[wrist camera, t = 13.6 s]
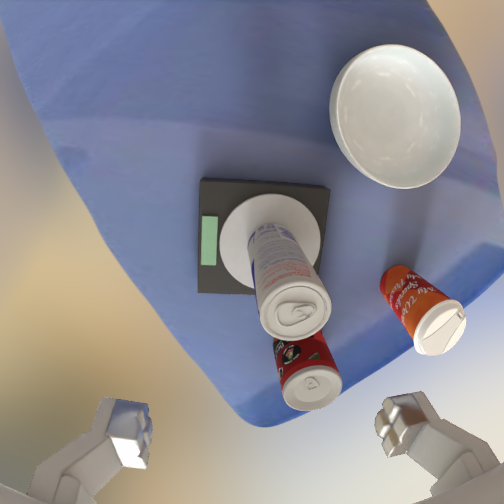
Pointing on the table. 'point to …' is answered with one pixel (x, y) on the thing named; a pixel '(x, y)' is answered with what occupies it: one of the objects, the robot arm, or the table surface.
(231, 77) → the table surface
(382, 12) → the table surface
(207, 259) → the scale
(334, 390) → the canned food
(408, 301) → the paper cup
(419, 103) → the cereal bowl
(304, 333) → the beverage can
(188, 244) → the table surface
